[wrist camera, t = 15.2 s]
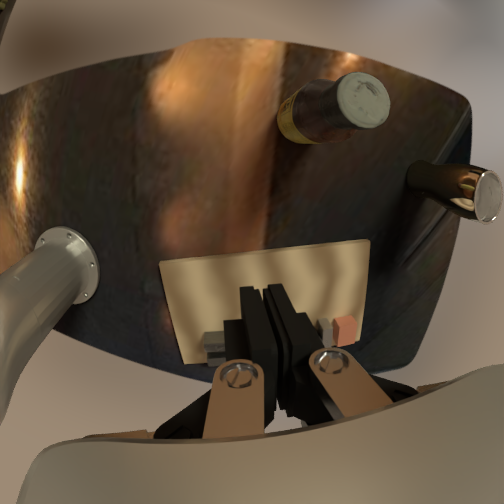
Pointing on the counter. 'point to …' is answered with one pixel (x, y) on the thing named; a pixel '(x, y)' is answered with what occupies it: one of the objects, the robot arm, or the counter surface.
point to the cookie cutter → (2, 4)
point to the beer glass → (458, 189)
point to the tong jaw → (214, 341)
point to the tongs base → (322, 329)
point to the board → (260, 275)
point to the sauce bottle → (333, 109)
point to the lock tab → (344, 330)
